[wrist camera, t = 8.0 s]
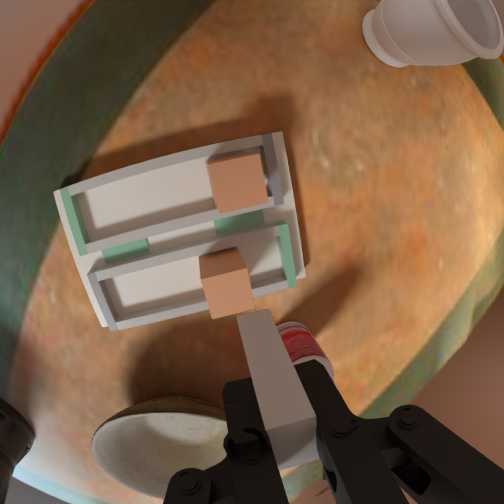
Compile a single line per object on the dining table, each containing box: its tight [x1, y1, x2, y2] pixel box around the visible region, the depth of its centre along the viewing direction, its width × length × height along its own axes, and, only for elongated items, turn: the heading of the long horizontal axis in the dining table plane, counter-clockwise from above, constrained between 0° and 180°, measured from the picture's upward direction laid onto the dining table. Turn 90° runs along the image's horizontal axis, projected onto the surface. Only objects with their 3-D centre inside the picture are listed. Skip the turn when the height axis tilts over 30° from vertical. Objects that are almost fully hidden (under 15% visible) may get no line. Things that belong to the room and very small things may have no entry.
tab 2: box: [198, 247, 256, 319], centre depth 29 cm, size 4×4×6 cm
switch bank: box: [54, 131, 306, 332], centre depth 30 cm, size 24×16×3 cm, turn 101°
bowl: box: [92, 396, 228, 500], centre depth 36 cm, size 24×24×10 cm
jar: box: [362, 0, 504, 68], centre depth 22 cm, size 11×10×15 cm
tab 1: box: [205, 153, 269, 214], centre depth 27 cm, size 4×4×6 cm
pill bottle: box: [276, 321, 338, 389], centre depth 34 cm, size 6×6×11 cm
